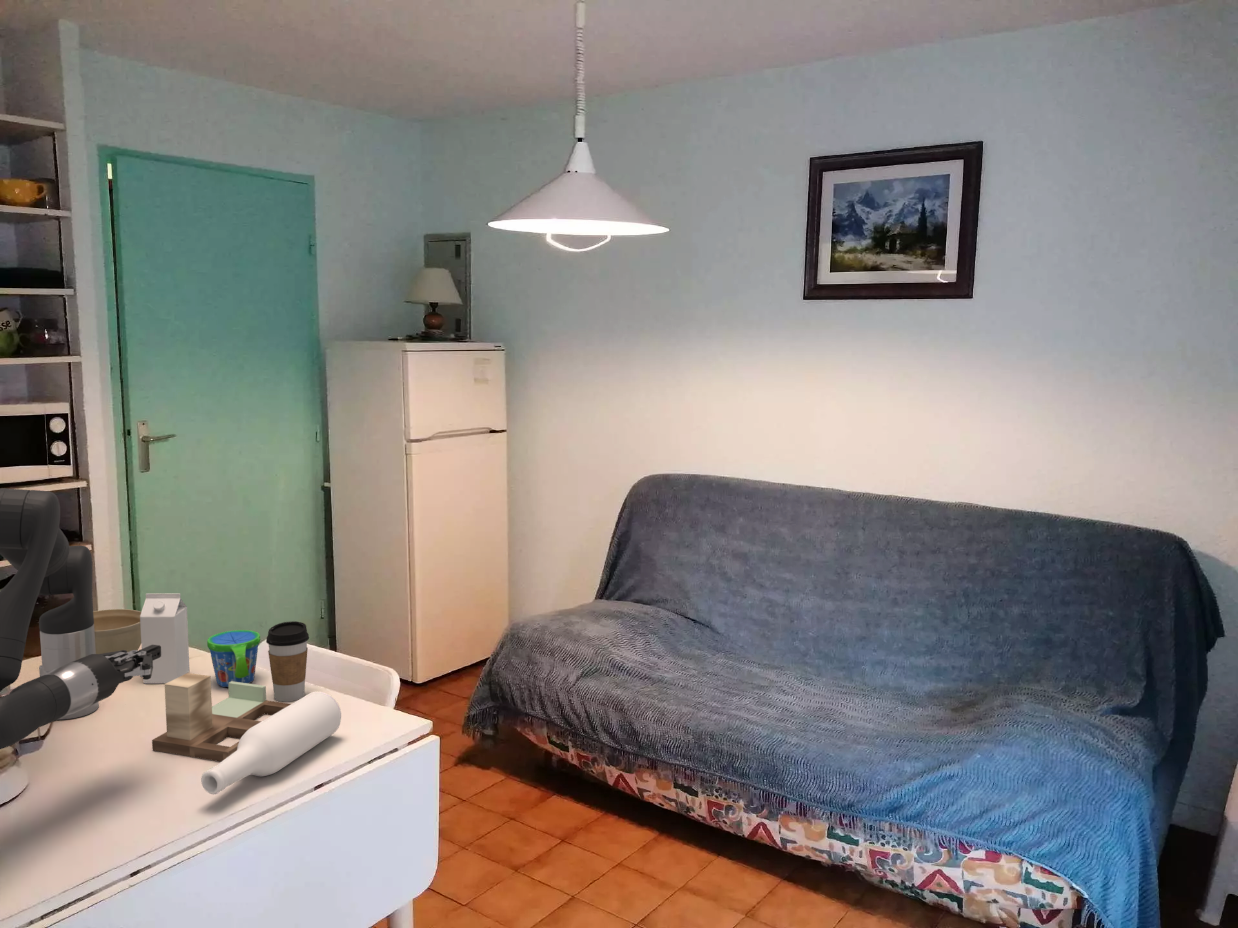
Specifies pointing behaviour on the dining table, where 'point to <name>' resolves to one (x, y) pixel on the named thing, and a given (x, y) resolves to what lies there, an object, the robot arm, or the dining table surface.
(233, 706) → the green l-shaped block
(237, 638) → the snack cup
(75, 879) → the dining table surface
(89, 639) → the robot arm
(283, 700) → the coffee cup
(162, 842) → the dining table surface
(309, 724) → the alcohol
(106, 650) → the planter bowl
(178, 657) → the milk carton
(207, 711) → the maple block
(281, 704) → the brown wooden flat frame
